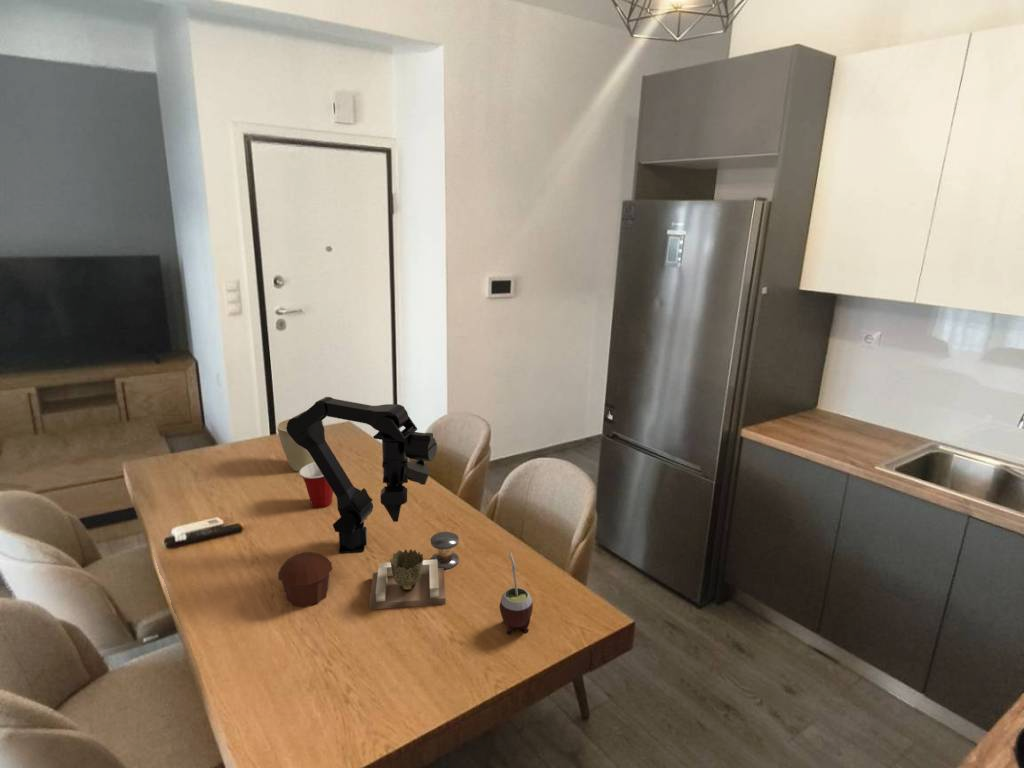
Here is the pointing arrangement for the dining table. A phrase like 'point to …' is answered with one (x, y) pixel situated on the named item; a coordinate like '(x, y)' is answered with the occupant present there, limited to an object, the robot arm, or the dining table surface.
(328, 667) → the dining table surface
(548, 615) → the dining table surface
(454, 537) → the bobbin
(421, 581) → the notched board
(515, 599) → the mate gourd
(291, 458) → the plant pot
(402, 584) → the cup
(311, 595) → the muffin
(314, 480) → the plastic cup
